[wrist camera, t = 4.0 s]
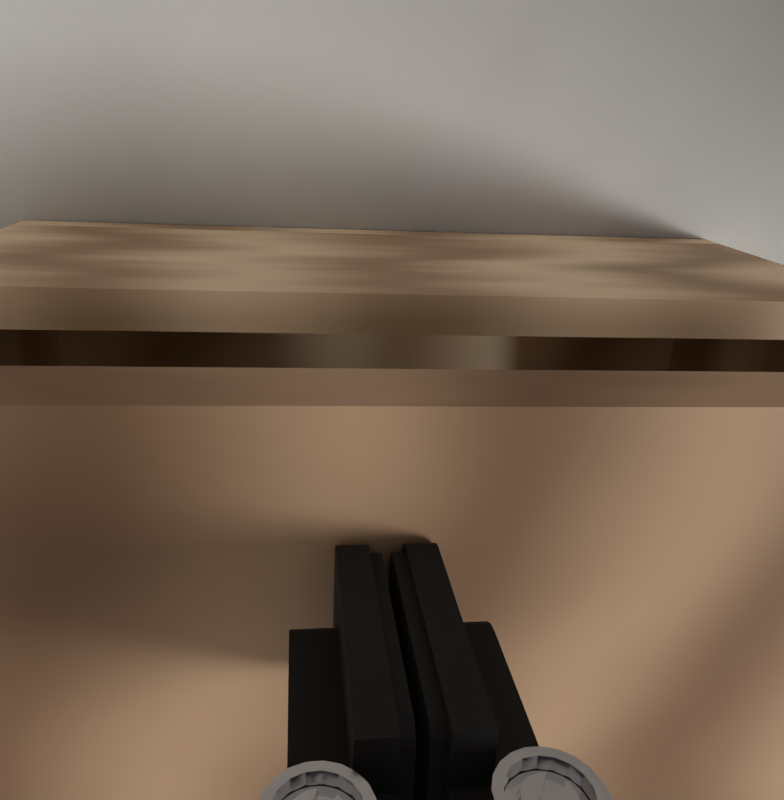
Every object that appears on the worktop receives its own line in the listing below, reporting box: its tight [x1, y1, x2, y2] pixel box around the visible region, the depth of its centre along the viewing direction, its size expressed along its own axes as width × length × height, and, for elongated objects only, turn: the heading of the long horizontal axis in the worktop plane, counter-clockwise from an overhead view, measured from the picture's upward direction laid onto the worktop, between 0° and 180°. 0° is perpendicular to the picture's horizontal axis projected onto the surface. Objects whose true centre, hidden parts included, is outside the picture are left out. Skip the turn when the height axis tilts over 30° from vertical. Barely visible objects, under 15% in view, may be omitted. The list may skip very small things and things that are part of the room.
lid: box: [0, 366, 784, 800], centre depth 15 cm, size 20×16×1 cm
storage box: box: [0, 220, 784, 372], centre depth 20 cm, size 20×16×8 cm
